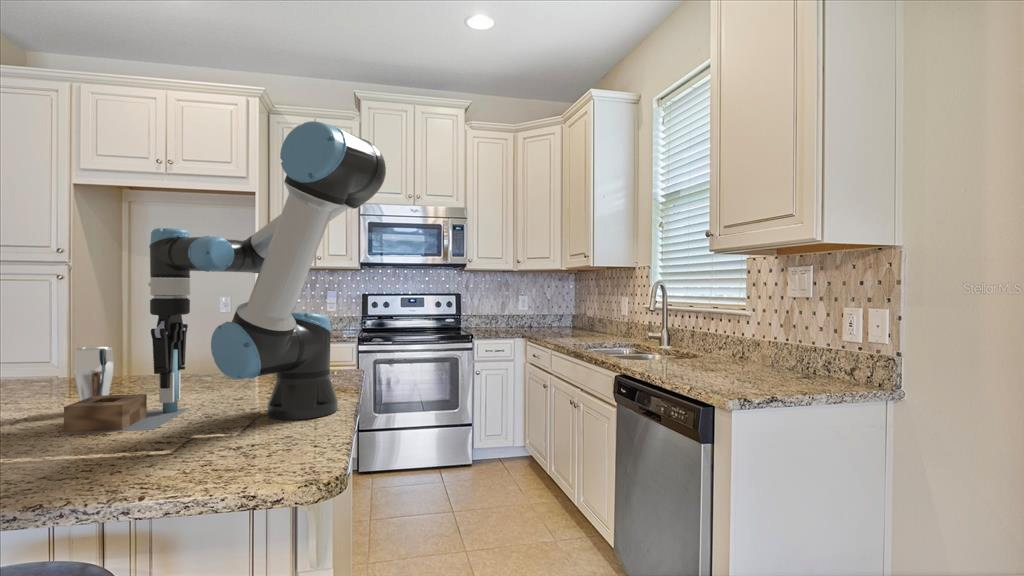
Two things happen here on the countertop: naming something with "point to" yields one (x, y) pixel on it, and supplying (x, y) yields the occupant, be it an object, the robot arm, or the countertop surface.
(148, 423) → the mat
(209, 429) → the countertop surface
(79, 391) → the beer glass
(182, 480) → the countertop surface
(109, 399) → the wooden peg holder
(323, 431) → the countertop surface
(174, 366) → the dowel
